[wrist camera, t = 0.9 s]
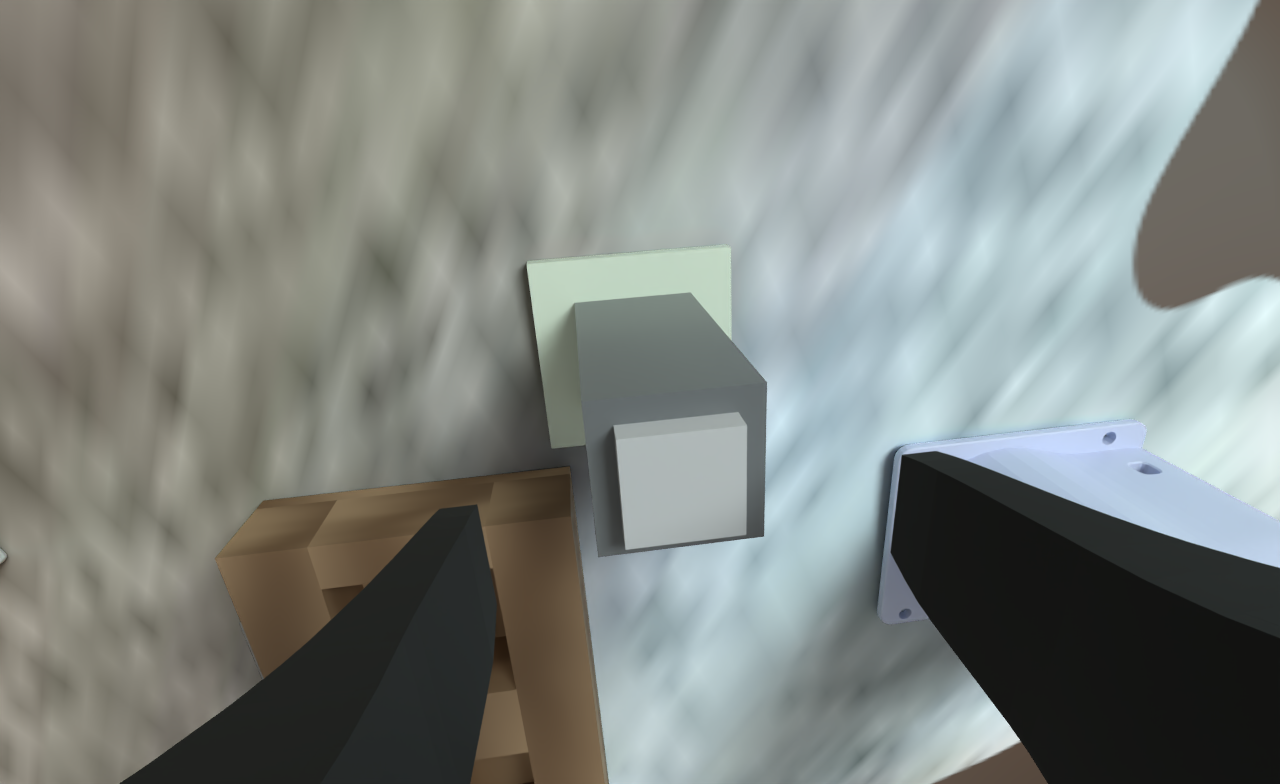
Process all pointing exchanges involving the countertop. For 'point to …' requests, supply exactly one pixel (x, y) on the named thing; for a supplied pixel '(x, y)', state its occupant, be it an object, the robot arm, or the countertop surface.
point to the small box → (2, 556)
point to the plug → (669, 425)
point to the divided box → (523, 584)
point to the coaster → (606, 280)
